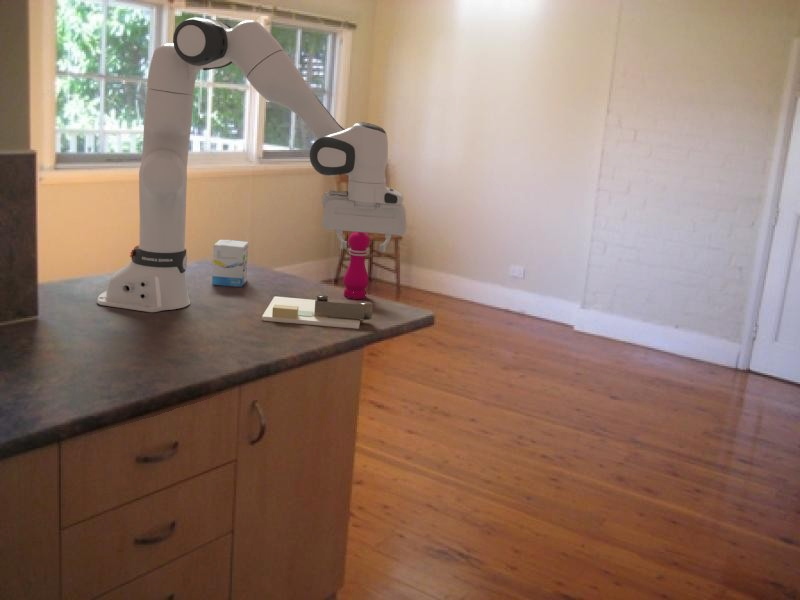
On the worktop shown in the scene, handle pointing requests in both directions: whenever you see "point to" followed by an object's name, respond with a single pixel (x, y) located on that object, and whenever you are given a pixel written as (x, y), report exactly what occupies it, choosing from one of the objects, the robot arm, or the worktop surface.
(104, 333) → the worktop surface
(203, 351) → the worktop surface
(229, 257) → the ink box
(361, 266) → the pepper mill
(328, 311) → the bar
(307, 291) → the worktop surface
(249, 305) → the worktop surface
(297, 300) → the latch board
